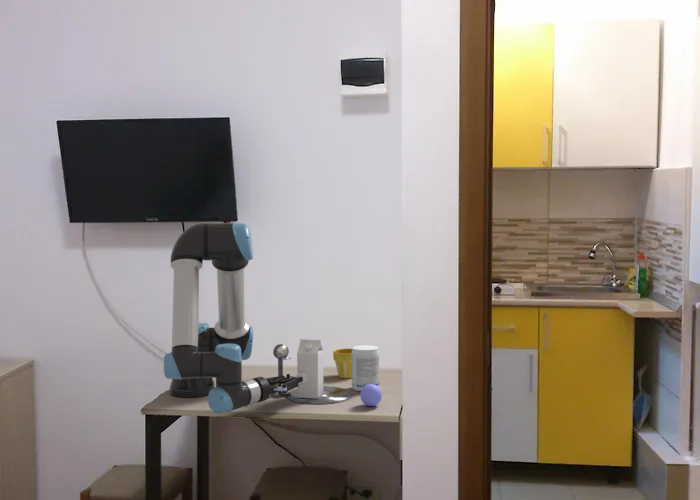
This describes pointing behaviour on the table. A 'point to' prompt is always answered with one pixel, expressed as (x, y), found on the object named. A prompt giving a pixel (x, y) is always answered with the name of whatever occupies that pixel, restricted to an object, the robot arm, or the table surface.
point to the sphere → (371, 395)
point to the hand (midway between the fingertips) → (306, 376)
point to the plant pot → (343, 362)
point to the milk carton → (310, 368)
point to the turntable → (323, 396)
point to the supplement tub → (365, 366)
